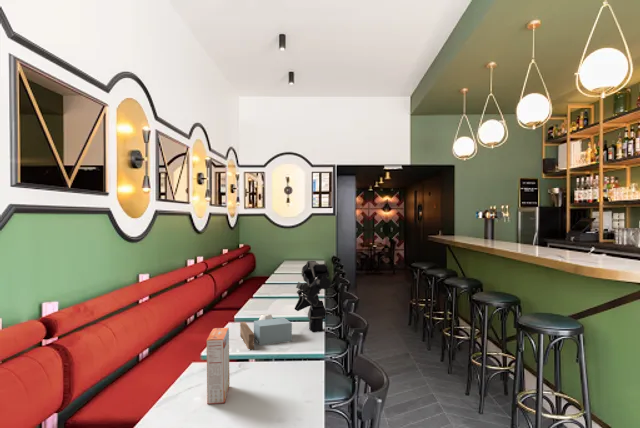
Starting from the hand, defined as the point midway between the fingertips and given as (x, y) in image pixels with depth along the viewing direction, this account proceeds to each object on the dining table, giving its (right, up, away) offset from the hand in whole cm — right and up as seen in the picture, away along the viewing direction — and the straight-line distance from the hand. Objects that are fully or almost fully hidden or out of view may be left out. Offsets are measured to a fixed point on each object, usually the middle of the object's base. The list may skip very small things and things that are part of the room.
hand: (295, 310), depth 203 cm
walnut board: (-23, -13, -9) cm, 28 cm away
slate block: (-11, -14, -4) cm, 18 cm away
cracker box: (-22, -13, -68) cm, 72 cm away
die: (-17, -14, +14) cm, 26 cm away
